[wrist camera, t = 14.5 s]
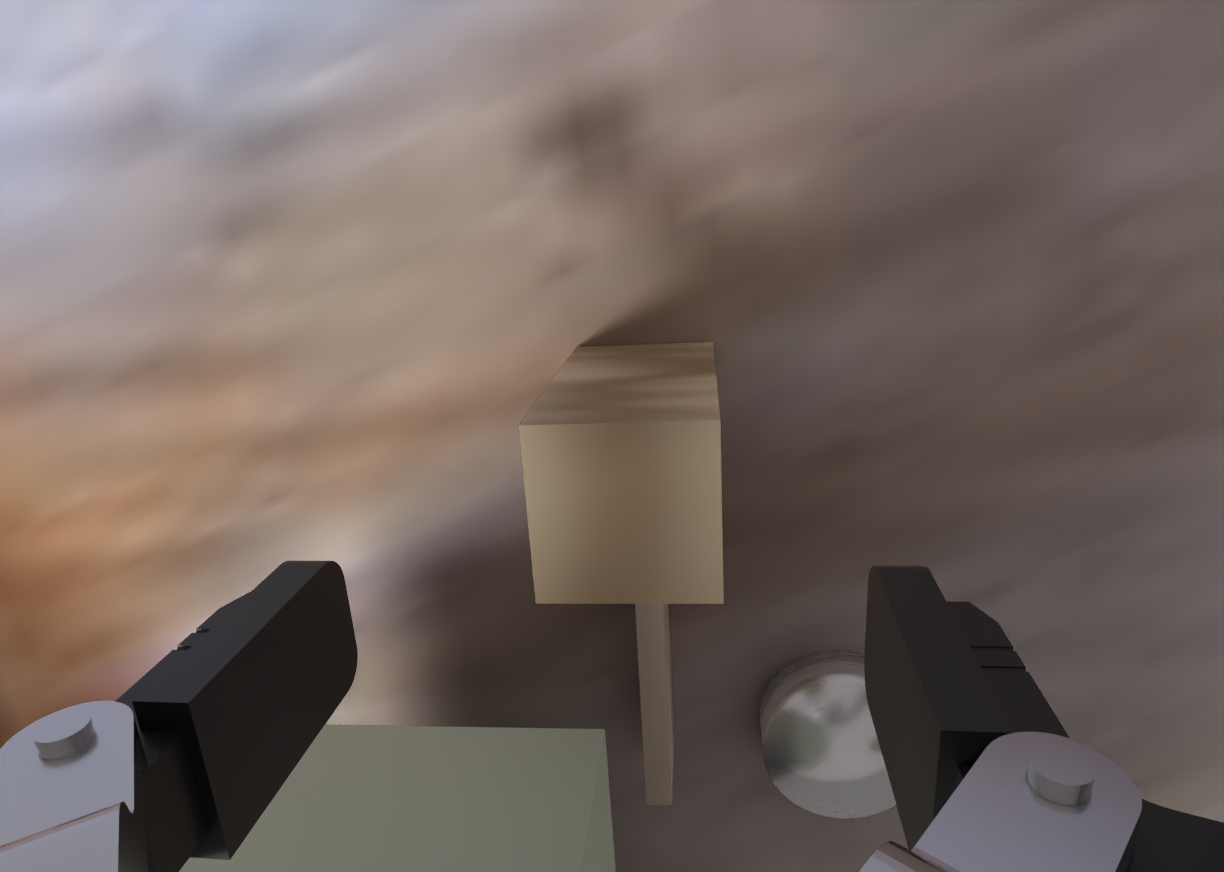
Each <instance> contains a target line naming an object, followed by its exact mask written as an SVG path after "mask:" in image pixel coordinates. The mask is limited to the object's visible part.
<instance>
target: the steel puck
mask: <svg viewBox="0 0 1224 872" xmlns="http://www.w3.org/2000/svg"><path fill="white" fill-rule="evenodd" d="M864 656H865V655H863V654H859V653H854V652H848V651H827V652H820V653H816V654H812V655H808V656H806V657H803V658H801V659H799V660H797V661H795V662H793V663H791V664H790V665H788V666H787V667H785V668H784V669H783V670H782V671H780V672H779V673H778V674H777V675H776V676H775V678H774V679H773V680H772V681H771V682H770V684H769V686H768V687H767V689H766V691H765V693H764V695H763V698H762V702H761V706H760V726H761V734H762V743H763V751H764V760H765V764H766V768H767V771H768V773H769V776H770V778H771V779H772V781H773V783H774V784H775V786H776V787H777V788H778V790H779V791H780V792H781V793H782V794H783V795H784V796H785V797H786V798H787V799H789V800H790V801H791V802H793V803H794V804H796V805H797V806H799V807H801V808H803V809H805V810H807V811H809V812H812V813H815V814H818V815H821V816H826V817H831V818H841V819H851V818H861V817H867V816H871V815H875V814H878V813H881V812H883V811H886V810H888V809H890V808H892V807H894V806H895V805H896V801H895V798H894V794H893V791H892V787H891V784H890V780H889V777H888V773H887V770H886V766H885V763H884V759H883V756H882V752H881V749H880V745H879V742H878V738H877V735H876V731H875V728H874V724H873V721H872V717H871V714H870V710H869V706H868V702H867V696H866V689H865V676H864Z"/></svg>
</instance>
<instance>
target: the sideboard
mask: <svg viewBox="0 0 1224 872" xmlns="http://www.w3.org/2000/svg"><path fill="white" fill-rule="evenodd" d="M179 872H616V868H615V854H614V841H613V828H612V815H611V802H610V789H609V776H608V762H607V749H606V736H605V729H568V728H505V727H442V726H380V725H324V726H323V728H322V729H321V731H320V732H319V734H318V735H317V737H316V738H315V739H314V741H313V742H312V744H311V745H310V747H309V748H308V749H307V751H306V752H305V754H304V755H303V757H302V758H301V759H300V761H299V762H298V764H297V765H296V767H295V768H294V769H293V771H292V772H291V774H290V775H289V777H288V778H287V779H286V781H285V782H284V784H283V785H282V787H281V788H280V789H279V791H278V792H277V794H276V795H275V797H274V798H273V799H272V801H271V802H270V804H269V805H268V807H267V808H266V809H265V811H264V812H263V814H262V815H261V817H260V818H259V819H258V821H257V822H256V824H255V825H254V827H253V828H252V829H251V831H250V832H249V834H248V835H247V837H246V838H245V840H244V841H243V842H242V844H241V845H240V847H239V848H238V850H237V851H236V852H235V854H234V855H233V857H232V858H231V860H222V859H206V858H189V859H188V860H187V862H186V863H185V864H184V866H183V867H182V868H181V870H180V871H179Z"/></svg>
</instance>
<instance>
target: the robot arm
mask: <svg viewBox="0 0 1224 872" xmlns="http://www.w3.org/2000/svg"><path fill="white" fill-rule="evenodd" d="M196 630H197V631H196V633H191V634H190V635H189V636H188V637H187V638H186V639H185V640H183V641H182V642H181V643H180V644H179V645H178V649H177V650H172V651H171V652H170V653H169V654H168V655H167V656H166V657H164V658H163V659H162V660H161V661H160V662H159V663H158V664H157V665H155V666H154V667H153V668H152V669H151V670H150V671H149V672H148V673H146V674H145V675H144V676H143V677H142V678H141V679H140V680H139V681H138V682H136V683H135V684H134V685H133V686H132V687H131V688H130V689H129V690H127V691H126V692H125V693H124V694H123V695H122V696H121V697H120V698H118V699H117V700H116V701H115V702H114V701H96V702H89V703H84V704H79V705H76V706H72V707H68V708H66V709H63V710H60V711H57V712H55V713H52V714H50V715H48V716H46V717H44V718H42V719H40V720H38V721H36V722H34V723H32V724H30V725H29V726H27V727H25V728H24V729H23V730H21V731H20V732H18V733H17V734H16V735H14V736H13V737H12V738H11V739H10V740H8V741H7V742H6V743H5V745H4V746H3V747H2V748H1V749H0V872H179V871H180V870H181V868H182V867H183V866H184V864H185V863H186V862H187V860H188V859H189V858H206V859H222V860H231V858H232V857H233V855H234V854H235V852H236V851H237V850H238V848H239V847H240V845H241V844H242V842H243V841H244V840H245V838H246V837H247V835H248V834H249V832H250V831H251V829H252V828H253V827H254V825H255V824H256V822H257V821H258V819H259V818H260V817H261V815H262V814H263V812H264V811H265V809H266V808H267V807H268V805H269V804H270V802H271V801H272V799H273V798H274V797H275V795H276V794H277V792H278V791H279V789H280V788H281V787H282V785H283V784H284V782H285V781H286V779H287V778H288V777H289V775H290V774H291V772H292V771H293V769H294V768H295V767H296V765H297V764H298V762H299V761H300V759H301V758H302V757H303V755H304V754H305V752H306V751H307V749H308V748H309V747H310V745H311V744H312V742H313V741H314V739H315V738H316V737H317V735H318V734H319V732H320V731H321V729H322V728H323V726H324V725H325V724H326V722H327V721H328V719H329V718H330V716H331V715H332V714H333V712H334V711H335V709H336V708H337V706H338V705H339V704H340V702H341V701H342V699H343V698H344V696H345V695H346V694H347V692H348V691H349V689H350V687H351V685H352V683H353V680H354V677H355V673H356V668H357V645H356V640H355V634H354V629H353V623H352V618H351V612H350V607H349V601H348V596H347V590H346V585H345V579H344V575H343V572H342V569H341V567H340V566H339V565H338V563H336V562H334V561H286V562H284V563H282V564H281V565H280V566H279V567H278V568H277V569H275V570H274V571H273V572H272V573H271V574H270V575H269V576H268V577H267V578H266V579H265V580H263V581H262V582H261V583H260V584H259V585H258V586H257V587H256V588H255V589H254V590H253V591H251V592H249V593H247V594H245V595H244V596H242V597H240V598H238V599H236V600H234V601H233V602H231V603H229V604H227V605H225V606H223V607H221V608H220V609H218V610H217V611H216V612H215V613H214V614H213V615H212V616H210V617H209V618H208V619H207V620H206V621H205V622H204V623H203V624H201V625H200V626H199V627H198V628H197V629H196ZM864 676H865V689H866V696H867V702H868V706H869V710H870V714H871V717H872V721H873V724H874V728H875V731H876V735H877V738H878V742H879V745H880V749H881V752H882V756H883V759H884V763H885V766H886V770H887V773H888V777H889V780H890V784H891V787H892V791H893V794H894V798H895V801H896V805H897V808H898V812H899V815H900V819H901V822H902V826H903V829H904V833H905V836H906V840H907V844H908V847H909V850H908V849H906V848H904V847H902V846H900V845H898V844H897V843H895V842H892V841H889V842H886V843H884V844H882V845H881V846H880V847H879V848H878V849H877V850H876V851H875V852H874V853H873V854H872V856H871V857H870V858H869V859H868V861H867V862H866V863H865V865H864V866H863V867H862V868H861V870H860V871H859V872H1224V823H1222V822H1218V821H1214V820H1210V819H1206V818H1202V817H1198V816H1195V815H1191V814H1187V813H1183V812H1179V811H1175V810H1172V809H1168V808H1165V807H1162V806H1159V805H1156V804H1153V803H1151V802H1148V801H1146V800H1143V799H1142V797H1141V794H1140V791H1139V789H1138V787H1137V785H1136V784H1135V782H1134V780H1133V779H1132V778H1131V777H1130V775H1129V774H1128V773H1127V772H1126V771H1125V770H1124V769H1123V768H1122V767H1121V766H1120V765H1118V764H1117V763H1116V762H1115V761H1113V760H1112V759H1111V758H1109V757H1108V756H1106V755H1105V754H1103V753H1101V752H1100V751H1098V750H1096V749H1094V748H1092V747H1090V746H1088V745H1086V744H1083V743H1081V742H1079V741H1076V740H1073V739H1070V738H1069V736H1068V735H1067V733H1066V731H1065V730H1064V728H1063V727H1062V725H1061V723H1060V722H1059V720H1058V719H1057V717H1056V715H1055V714H1054V712H1053V711H1052V709H1051V707H1050V706H1049V704H1048V702H1047V701H1046V699H1045V698H1044V696H1043V694H1042V693H1041V691H1040V690H1039V688H1038V686H1037V685H1036V683H1035V682H1034V680H1033V678H1032V677H1031V675H1030V674H1029V672H1026V670H1025V665H1024V664H1023V662H1022V661H1021V659H1020V657H1019V656H1018V654H1017V653H1016V652H1014V651H1013V646H1012V645H1011V643H1010V641H1009V640H1008V638H1007V637H1006V635H1005V633H1004V632H1003V630H1002V628H1001V627H1000V625H999V624H998V622H996V621H995V620H993V619H992V618H991V617H989V616H988V615H987V614H985V613H984V612H982V611H981V610H980V609H978V608H977V607H975V606H974V605H973V604H971V603H970V602H946V600H945V598H944V597H943V595H942V593H941V591H940V589H939V587H938V585H937V583H936V582H935V580H934V578H933V576H932V574H931V572H930V570H929V569H928V568H927V567H922V566H872V567H871V570H870V573H869V580H868V598H867V617H866V637H865V656H864Z"/></svg>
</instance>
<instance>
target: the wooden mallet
mask: <svg viewBox="0 0 1224 872" xmlns="http://www.w3.org/2000/svg"><path fill="white" fill-rule="evenodd" d="M518 426H519V437H520V447H521V457H522V468H523V478H524V488H525V499H526V509H527V519H528V530H529V540H530V550H531V561H532V571H533V581H534V592H535V602H536V604H635V613H636V631H637V650H638V668H639V686H640V704H641V723H642V741H643V759H644V777H645V795H646V805H662V806H672V787H673V764H674V725H673V701H672V676H671V652H670V627H669V604H724V593H723V535H722V478H721V420H720V409H719V399H718V388H717V377H716V366H715V355H714V344H713V342H693V343H666V344H639V345H612V346H585V347H576V348H575V350H574V351H573V352H572V354H571V355H570V357H569V358H568V359H567V361H566V362H565V363H564V365H563V366H562V367H561V369H560V370H559V371H558V373H557V374H556V375H555V377H554V378H553V379H552V381H551V382H550V384H549V385H548V386H547V388H546V389H545V390H544V392H543V393H542V394H541V396H540V397H539V398H538V400H537V401H536V402H535V404H534V405H533V406H532V408H531V409H530V411H529V412H528V413H527V415H526V416H525V417H524V419H523V420H522V421H521V423H520V424H519V425H518Z"/></svg>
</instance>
